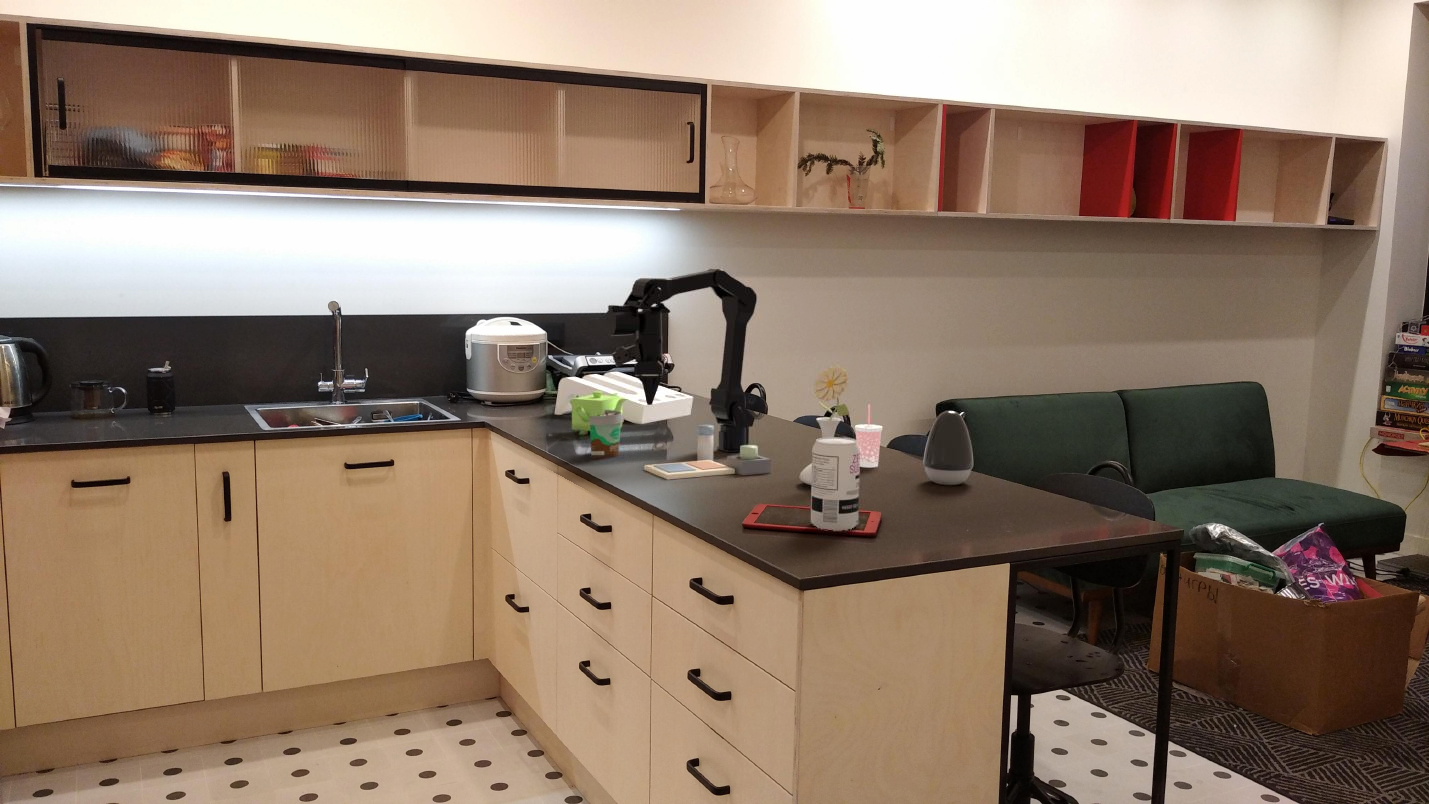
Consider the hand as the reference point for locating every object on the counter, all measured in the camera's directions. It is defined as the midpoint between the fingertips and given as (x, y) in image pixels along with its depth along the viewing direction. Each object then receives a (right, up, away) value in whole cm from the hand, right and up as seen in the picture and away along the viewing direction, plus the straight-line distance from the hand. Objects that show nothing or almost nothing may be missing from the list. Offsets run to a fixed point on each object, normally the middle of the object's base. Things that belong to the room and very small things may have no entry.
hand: (650, 401), depth 248 cm
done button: (+22, -13, -12) cm, 28 cm away
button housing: (+22, -15, -12) cm, 29 cm away
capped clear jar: (+13, -14, 0) cm, 19 cm away
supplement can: (+35, -22, -61) cm, 74 cm away
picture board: (+9, -15, -13) cm, 22 cm away
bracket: (-12, -4, +76) cm, 77 cm away
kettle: (-16, -9, +39) cm, 43 cm away
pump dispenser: (+63, -17, -22) cm, 69 cm away
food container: (-10, -13, +7) cm, 17 cm away
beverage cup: (+49, -15, -3) cm, 52 cm away
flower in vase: (+38, -18, -27) cm, 50 cm away
